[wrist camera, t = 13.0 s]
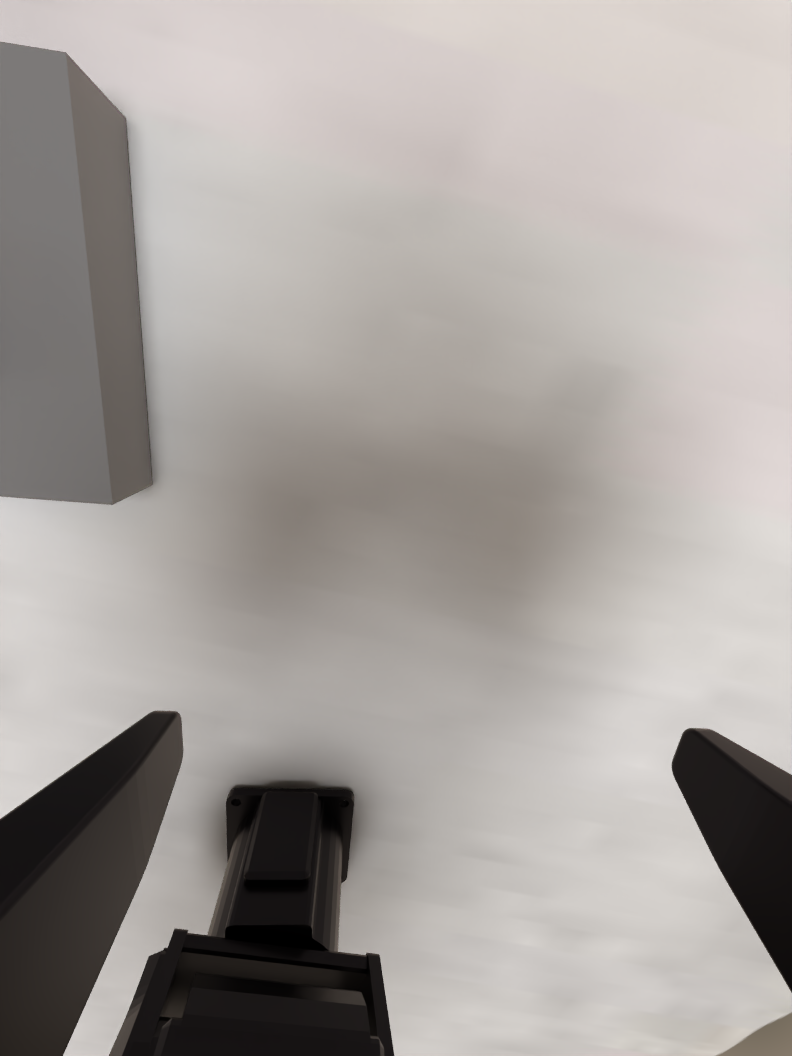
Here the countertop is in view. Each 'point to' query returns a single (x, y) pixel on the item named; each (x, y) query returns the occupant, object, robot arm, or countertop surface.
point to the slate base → (67, 289)
